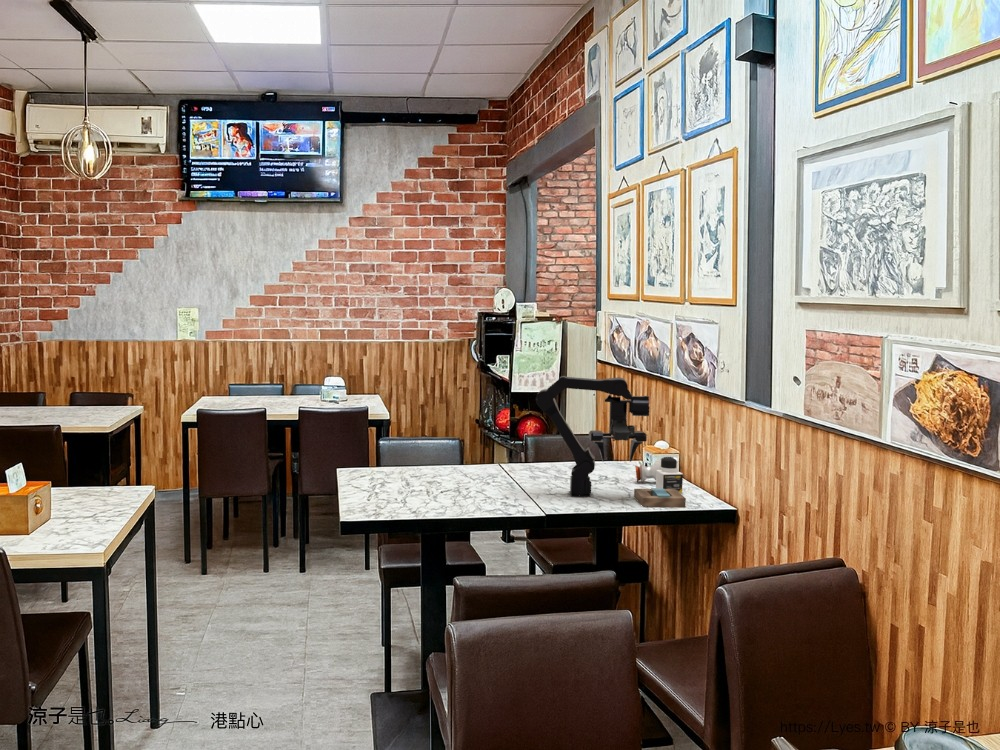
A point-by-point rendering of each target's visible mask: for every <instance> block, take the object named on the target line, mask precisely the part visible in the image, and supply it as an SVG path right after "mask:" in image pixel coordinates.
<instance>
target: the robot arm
mask: <svg viewBox="0 0 1000 750" xmlns="http://www.w3.org/2000/svg"><path fill="white" fill-rule="evenodd" d="M628 388H629V387H628V383H627V380H625V378H623V377H609V378H602V379H601V378H600V379H599V378H598V379H597V378H586V377H585V378H584V377H574V376H566V375H561V376H560V377H559V378H558V379H557V380H556V381H555V382H554V383H552V384H551V385H550V386H549V387H548V388H546V389H541V390H539V391H538V393H537V394H536V396H535V403H536V405H537V406H538V407H539V409H540V410H541V411H542V412H543V413H544V414H545V415H547V416H548V417H549V418H550V420H551V422H552V423H553V425H554V426H555V428H556V430H557V431H558V433H559V434H560V436H561V438H562V439H563V441H564V442H565V444H566V445H567V447H568V448H569V450H570V452H571V454H572V457H573V460H574V463H575V465H574V466H573V467H572V469H571V473H570V480H569V481H570V482H569V483H570V484H569V490H568V494H569V495H570V496H571V497H591V494H592V480H591V477H590V474H592V473H593V472H594V470H595V467H596V461H595V459H596V456H595V455H594V454H593V453H592V452H591V450H590V449H591V448H590V447H589V446H588V447H587V448H585V447H583V445H582V444H581V443H580V441H579V439H578V438H577V436H576V435H575V434H574V432H573V430H572V429H571V427H570V426H569V424H568V423H567V421H566V419H565V418H564V416H563V414H562V413H561V412H560V410H559V409H560V408H559V406H558V403H557V400H556V397H557V396H558V395H559V394H561V393H562V392H563V391H564V390H565V389H572V390H585V391H594V392H595V391H596V392H597V391H599V392H603V393H605V394H608V395H607V397H605V398H604V402H605V403H609V419H608V420H609V422H608V423H609V424H608V425H609V426H608V432H603V431H602V430H590V431H589V432H588V439H589V440H590V442H592V443H594V444H596V445H597V448H598V450H599V453H600V458H601V460H602V462H605V449H604V444H605V443H604V441H603V439H613V440H614V441H624V442H627V441H628V440H630V446H629V456H628V457H629V459H628V460H629V463H630V462H632V460H633V458H634V455H635V452H636V450H637V449H638V447H639V446H640V445H641V444H643V442H648V441H647V440H648V439H647V433H646V432H645V431H643V430H636V427H635V425H634V424H633V425H632V424H631V425H629V424H628V419H627V417H628V413H630V414H631V416H633V417H650V397H649V395H641V396H640V395H633V394H632V392H631V391H630V390H629V389H628ZM621 397H622V398H624V399H621Z"/></svg>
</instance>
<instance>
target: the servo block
mask: <svg viewBox="0 0 1000 750" xmlns="http://www.w3.org/2000/svg"><path fill="white" fill-rule="evenodd" d="M650 489H651V490H652V491H653V496H657V497H670V495H669V494H668V493H667V492H666V491H665V490H664V489H663V488H656V487H655V488H654V487H652V488H650Z"/></svg>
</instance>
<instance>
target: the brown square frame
mask: <svg viewBox="0 0 1000 750" xmlns="http://www.w3.org/2000/svg"><path fill="white" fill-rule="evenodd" d="M633 490H634V491H633V498H634V497H635V498H636V499H637V500H638V501H637V500H636V499H635V498H634V499H635V500H636V501H637V503H640V504H641V505H642V506H648V507H647V508H686V502H687V501H686V499H687V498H686V497H685V496H684V495H683V494H682V493H681V494H680V493H679V492H678V491H677V490H676V489H664V490H665V491H666V492H667V493H668V494H669V495H670V497H657V496H653V491H652V490H651V488H634V489H633ZM640 504H639V505H640ZM641 505H640V506H641ZM642 506H641V507H642Z"/></svg>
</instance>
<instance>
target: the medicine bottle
mask: <svg viewBox="0 0 1000 750" xmlns="http://www.w3.org/2000/svg"><path fill="white" fill-rule="evenodd" d="M661 458H662V459H661ZM661 458H660V459H661V469H662V470H656V480H655V488H663V489H676V490H677V491H678V492H679V493H680V494H681V495H682V494H683V481H684V480H683V477H684V474H683V472H681V471H679V468H680V467H679V464H680V463H679V461H680V460H679V458H677V457H675V456H665V457H661ZM677 470H678V471H677Z"/></svg>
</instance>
